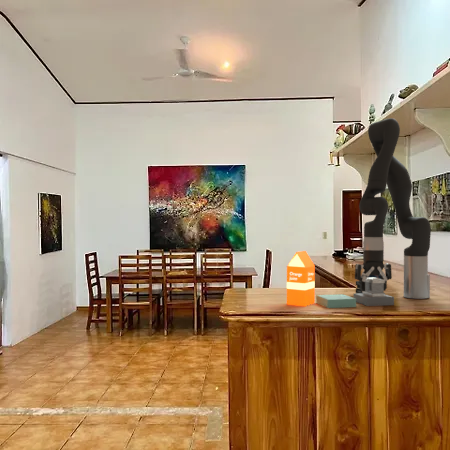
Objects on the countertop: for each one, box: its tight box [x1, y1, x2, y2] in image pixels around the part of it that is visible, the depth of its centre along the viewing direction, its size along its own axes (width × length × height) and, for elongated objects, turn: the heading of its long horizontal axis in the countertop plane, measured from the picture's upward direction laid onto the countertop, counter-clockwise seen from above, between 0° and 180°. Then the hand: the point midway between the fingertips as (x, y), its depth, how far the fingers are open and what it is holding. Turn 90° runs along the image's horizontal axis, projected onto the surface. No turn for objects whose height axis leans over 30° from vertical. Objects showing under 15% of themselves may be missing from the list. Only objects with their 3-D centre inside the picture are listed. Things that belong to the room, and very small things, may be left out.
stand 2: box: [353, 292, 395, 307], centre depth 186 cm, size 11×11×3 cm
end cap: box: [355, 280, 362, 293], centre depth 201 cm, size 10×7×7 cm
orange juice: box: [286, 250, 316, 307], centre depth 184 cm, size 8×9×20 cm
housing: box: [362, 277, 386, 297], centre depth 186 cm, size 8×5×6 cm, turn 12°
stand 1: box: [315, 293, 357, 309], centre depth 182 cm, size 11×11×3 cm
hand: (373, 290), depth 186 cm, fingers open, 8 cm apart
